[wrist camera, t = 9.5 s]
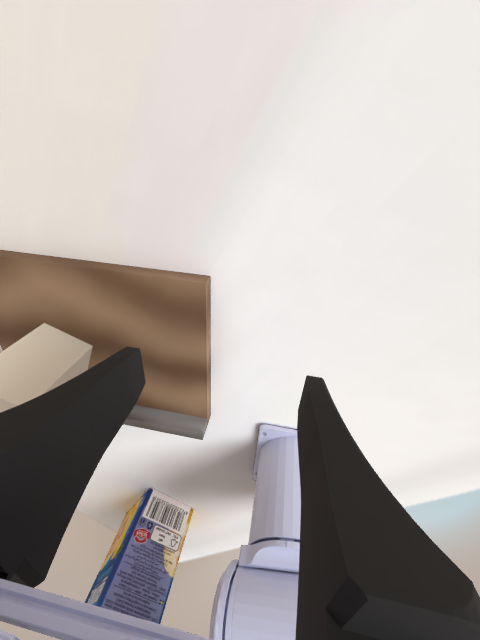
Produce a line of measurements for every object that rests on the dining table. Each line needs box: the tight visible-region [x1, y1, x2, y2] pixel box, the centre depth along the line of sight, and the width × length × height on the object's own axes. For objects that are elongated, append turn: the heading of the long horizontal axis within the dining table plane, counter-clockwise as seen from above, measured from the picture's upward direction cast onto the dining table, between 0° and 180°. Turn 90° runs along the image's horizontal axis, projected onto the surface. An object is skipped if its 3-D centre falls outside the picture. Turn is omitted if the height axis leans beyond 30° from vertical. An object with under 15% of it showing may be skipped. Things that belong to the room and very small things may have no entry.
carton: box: [0, 323, 93, 413], centre depth 22 cm, size 5×4×7 cm
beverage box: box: [85, 488, 193, 624], centre depth 32 cm, size 7×11×22 cm, turn 149°
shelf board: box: [0, 250, 211, 440], centre depth 24 cm, size 15×20×3 cm
